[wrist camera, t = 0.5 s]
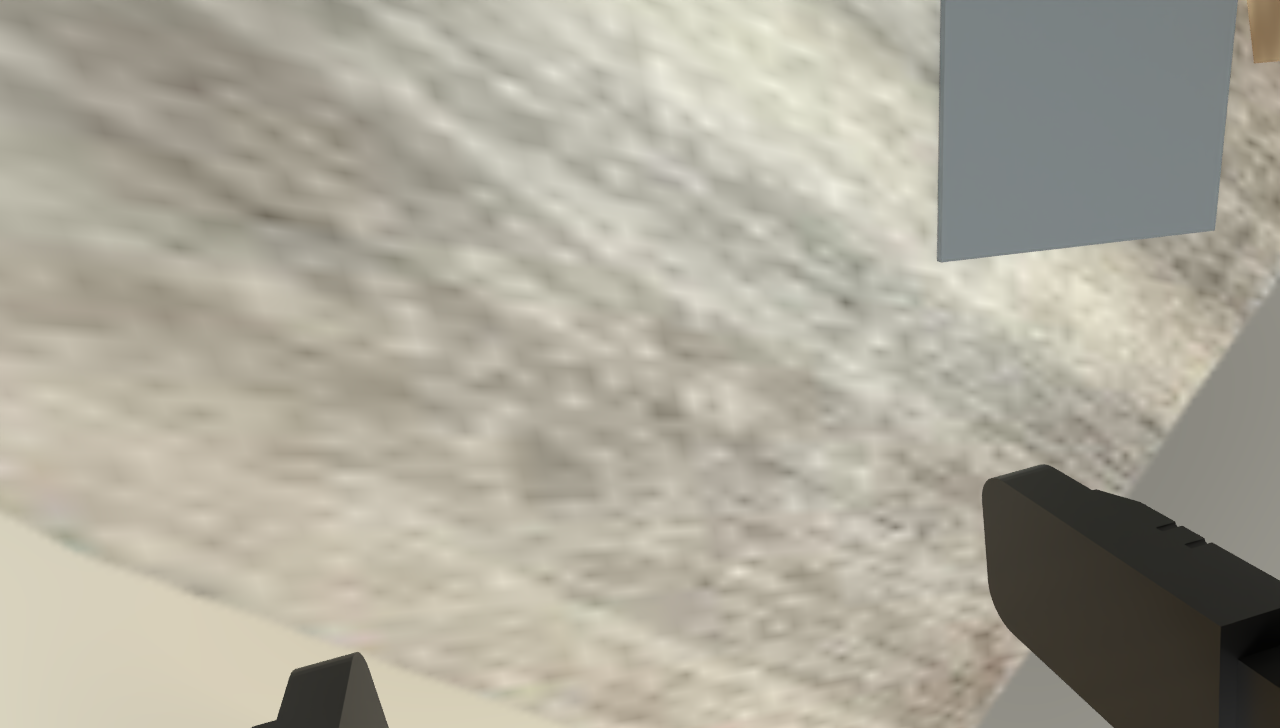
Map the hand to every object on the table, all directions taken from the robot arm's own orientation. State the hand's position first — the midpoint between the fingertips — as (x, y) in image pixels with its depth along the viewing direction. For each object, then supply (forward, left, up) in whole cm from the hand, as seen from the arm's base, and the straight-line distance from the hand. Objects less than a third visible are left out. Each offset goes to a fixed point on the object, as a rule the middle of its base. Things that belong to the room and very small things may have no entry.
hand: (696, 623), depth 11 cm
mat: (-6, +27, -29) cm, 40 cm away
